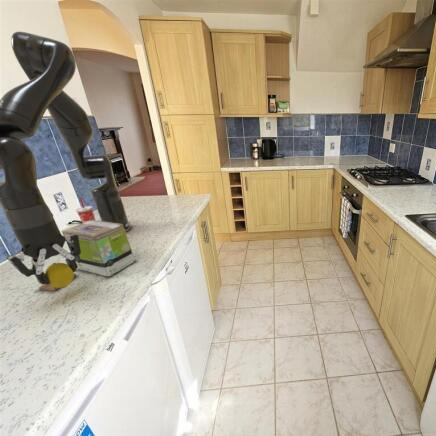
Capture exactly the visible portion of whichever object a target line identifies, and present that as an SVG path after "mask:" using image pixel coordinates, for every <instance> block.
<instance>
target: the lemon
mask: <svg viewBox="0 0 436 436" xmlns="http://www.w3.org/2000/svg"><path fill="white" fill-rule="evenodd" d="M44 273H45V275H46V277H47V279H48V280H49V282H50V285H51V286H53V287H57V288H59V289H60V288H67V287H68V286H69V285H70V284H71V283H72V282H73V280H74V279H75V278H74V274H75V272H73V270H72V269H71V268H70V266H68V265H67V263H64V262H53V263H52V264H51V265H49V266H48V267H47V268H46V270H45V272H44Z"/></svg>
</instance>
